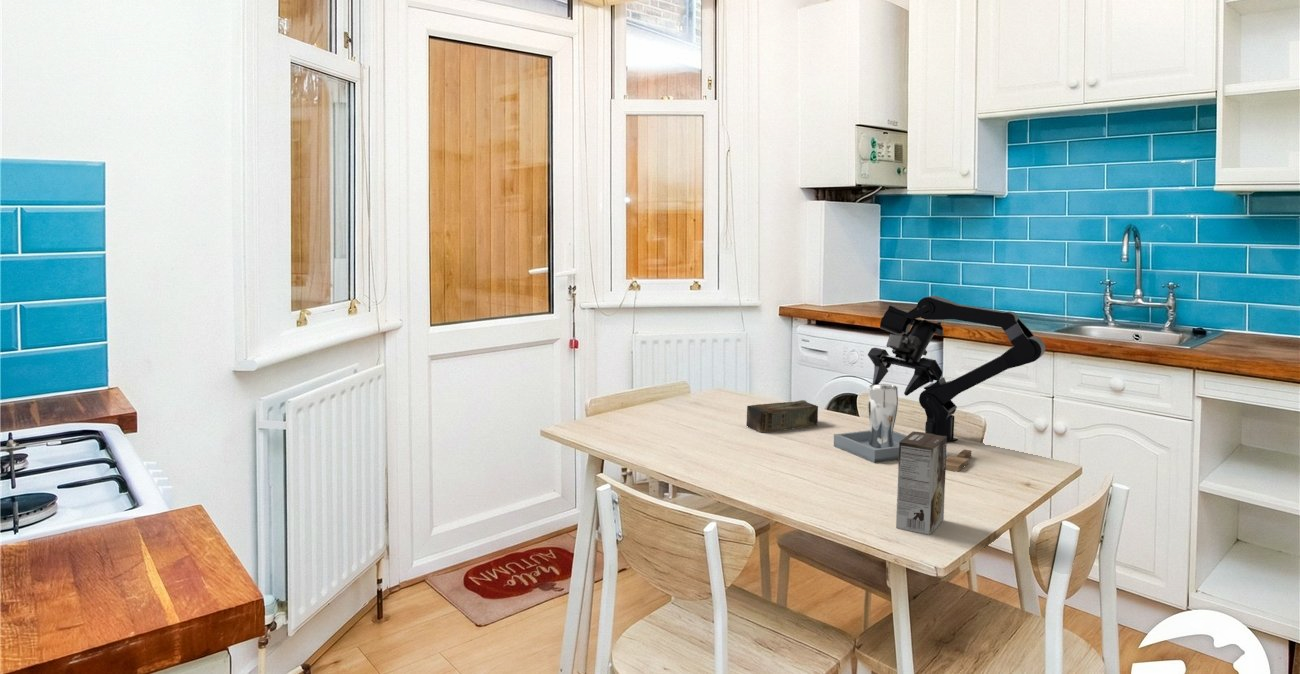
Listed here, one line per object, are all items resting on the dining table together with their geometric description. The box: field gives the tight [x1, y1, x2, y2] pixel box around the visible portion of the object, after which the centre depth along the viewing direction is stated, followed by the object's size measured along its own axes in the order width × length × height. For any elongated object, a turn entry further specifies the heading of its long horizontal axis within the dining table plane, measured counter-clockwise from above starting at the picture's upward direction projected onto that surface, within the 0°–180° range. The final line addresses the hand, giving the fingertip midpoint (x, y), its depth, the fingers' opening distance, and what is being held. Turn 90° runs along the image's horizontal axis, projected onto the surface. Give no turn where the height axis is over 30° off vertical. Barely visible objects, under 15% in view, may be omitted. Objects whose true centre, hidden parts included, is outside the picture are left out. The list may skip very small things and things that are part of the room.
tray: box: [833, 429, 908, 464], centre depth 193 cm, size 16×16×3 cm
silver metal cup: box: [867, 383, 899, 449], centre depth 193 cm, size 7×7×15 cm
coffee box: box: [895, 430, 948, 536], centre depth 144 cm, size 9×6×16 cm
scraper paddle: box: [946, 448, 972, 473], centre depth 183 cm, size 14×4×2 cm, turn 142°
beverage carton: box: [746, 399, 819, 433], centre depth 218 cm, size 8×19×7 cm, turn 115°
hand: (889, 390), depth 198 cm, fingers open, 9 cm apart
